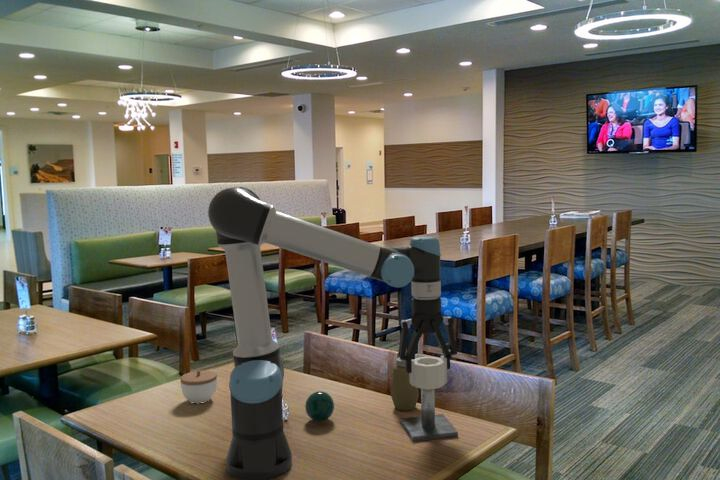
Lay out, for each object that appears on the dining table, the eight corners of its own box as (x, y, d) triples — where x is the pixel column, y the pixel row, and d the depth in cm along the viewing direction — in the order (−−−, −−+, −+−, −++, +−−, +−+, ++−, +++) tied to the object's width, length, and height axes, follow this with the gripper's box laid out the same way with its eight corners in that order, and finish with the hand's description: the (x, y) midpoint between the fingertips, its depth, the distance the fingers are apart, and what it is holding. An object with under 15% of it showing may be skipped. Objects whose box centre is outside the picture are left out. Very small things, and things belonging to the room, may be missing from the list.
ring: (418, 390, 150) (417, 367, 150) (409, 380, 158) (409, 358, 157) (448, 387, 152) (447, 364, 151) (438, 377, 159) (437, 355, 159)
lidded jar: (188, 394, 187) (186, 365, 186) (222, 394, 186) (220, 364, 185) (176, 407, 176) (174, 376, 175) (212, 407, 176) (210, 376, 175)
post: (412, 441, 149) (411, 383, 148) (400, 422, 161) (399, 369, 159) (457, 436, 151) (457, 379, 150) (442, 418, 163) (442, 365, 162)
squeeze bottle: (417, 413, 167) (416, 351, 165) (389, 412, 168) (387, 350, 166) (420, 403, 174) (419, 343, 173) (393, 401, 176) (392, 342, 174)
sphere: (324, 412, 169) (323, 385, 169) (340, 421, 163) (339, 392, 162) (300, 419, 165) (299, 391, 164) (315, 428, 158) (314, 399, 157)
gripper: (390, 302, 147) (393, 391, 149) (470, 296, 151) (471, 383, 153) (383, 296, 154) (386, 381, 157) (459, 291, 158) (461, 374, 160)
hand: (428, 382), depth 155 cm, fingers closed on ring, 8 cm apart
